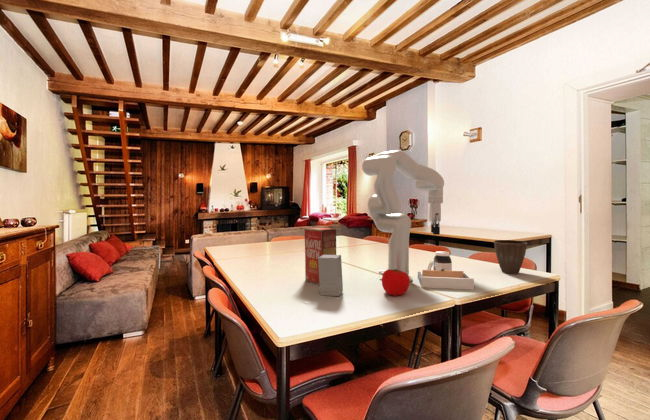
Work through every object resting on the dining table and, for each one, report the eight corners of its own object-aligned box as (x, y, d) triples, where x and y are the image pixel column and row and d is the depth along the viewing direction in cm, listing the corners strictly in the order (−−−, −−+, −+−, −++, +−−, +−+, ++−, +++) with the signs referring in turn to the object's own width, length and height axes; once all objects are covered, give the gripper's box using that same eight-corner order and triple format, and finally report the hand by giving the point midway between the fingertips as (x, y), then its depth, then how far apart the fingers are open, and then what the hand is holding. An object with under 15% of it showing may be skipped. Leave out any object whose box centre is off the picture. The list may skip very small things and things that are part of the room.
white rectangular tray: (421, 287, 140) (421, 277, 140) (417, 277, 157) (417, 268, 156) (473, 289, 136) (474, 279, 136) (464, 279, 153) (464, 270, 152)
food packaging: (304, 280, 153) (303, 228, 152) (318, 277, 159) (318, 226, 158) (322, 286, 143) (322, 230, 142) (337, 282, 149) (337, 228, 149)
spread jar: (453, 277, 156) (454, 254, 156) (430, 277, 157) (430, 254, 156) (445, 272, 168) (445, 250, 168) (423, 272, 169) (423, 250, 168)
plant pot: (499, 275, 160) (499, 243, 160) (489, 268, 175) (489, 239, 174) (532, 276, 158) (532, 244, 157) (519, 269, 172) (519, 240, 172)
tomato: (378, 296, 127) (378, 270, 127) (384, 288, 139) (384, 264, 139) (407, 299, 123) (407, 273, 123) (411, 290, 135) (411, 266, 135)
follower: (422, 280, 151) (422, 268, 150) (422, 279, 152) (422, 267, 152) (463, 282, 147) (463, 270, 147) (462, 281, 149) (462, 269, 149)
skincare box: (343, 292, 133) (342, 254, 133) (338, 297, 126) (337, 257, 126) (323, 290, 136) (323, 253, 135) (317, 295, 129) (317, 256, 129)
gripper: (426, 200, 181) (426, 231, 181) (430, 200, 163) (430, 235, 164) (440, 200, 179) (440, 231, 180) (445, 200, 162) (445, 235, 163)
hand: (435, 233), depth 172 cm, fingers open, 7 cm apart
